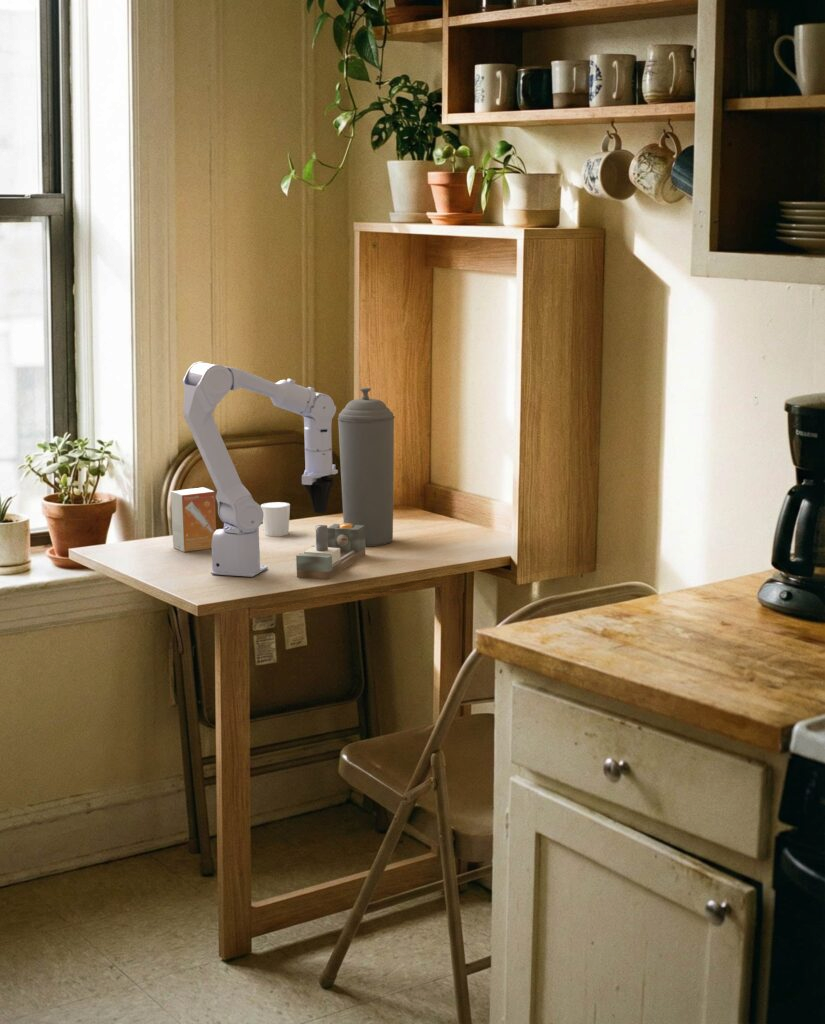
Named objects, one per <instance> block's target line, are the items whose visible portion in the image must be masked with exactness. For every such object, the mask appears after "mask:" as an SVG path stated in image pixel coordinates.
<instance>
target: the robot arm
mask: <svg viewBox="0 0 825 1024" xmlns="http://www.w3.org/2000/svg"><path fill="white" fill-rule="evenodd" d="M182 385H183V389H184V391H183V392H184V393H183V403H182V406H183V407H182V414H183V418H184V420H185V422H186V425H187V427H188V429H189V431H190V434H191V436H192V439H193V440H194V442H195V444H196V447H197V448H198V451H199V453H200V456H201V458H202V461H203V462H204V464H205V467H206V469H207V472H208V474H209V476H210V478H211V480H212V482H213V485H214V487H215V489H216V493H215V501H216V502H217V515H218V517H219V519H220V520H221V522H223V528H218V529H216V531H215V532H214V534H213V537H212V543H211V547H212V548H211V565H212V567H211V568H212V571H211V572H210V574H211V575H221V576H234V577H235V576H236V577H247V578H248V577H249V578H252V577H255V576H256V575H258V574H260V573H261V572H263V571H265V570H267V569H268V565H261V555H260V554H261V552H260V531H259V528H260V526H262V524H263V510H262V508H261V504H259V503H257V502H256V501H255V500H254V498H253V496H252V494H251V492H250V491H249V490H248V488H246V486H245V485H244V484H243V482H242V481H241V480H242V479H241V478H240V476H239V474H238V472H237V469H236V467H235V465H234V462H233V460H232V457H231V456H230V455H231V454H230V453H229V452H228V449H227V447H226V446H227V445H226V444H225V441H224V439H223V438H222V435H221V433H220V430H219V428H218V426H217V424H216V421H215V419H214V417H213V414H214V411H215V409H216V408H217V406H218V404H219V403H221V401H222V400H223V399H224V398H225V396H226V395H227V394H228V393H229V392H230V391H234V392H235V391H237V390H239V389H243V390H247V391H249V392H253V393H254V394H255V393H256V394H258V395H262V396H265V397H268V398H270V401H271V402H272V404H273V406H274V407H277V408H279V409H283V410H286V411H288V412H291V413H294V414H297V415H300V416H301V417H303V425H304V427H303V431H304V432H303V433H304V434H303V435H304V436H303V437H304V462H305V465H304V466H305V469H304V472H303V474H302V475H301V485H304V487H305V489H306V490H307V492H308V494H309V497H310V500H311V504H312V508H313V511H314V513H315V514H325V513H326V512H327V509H328V502H329V498H330V494H331V491H332V488H333V486H334V484H335V482H336V481H335V479H336V478H334V477H329V476H331V475H336V474H337V475H338V473H339V470H338V469H336V468H337V467H336V463H335V464H333V444H332V443H333V440H332V439H333V436H332V434H333V433H332V425H333V424H332V423H333V421H332V420H333V418H334V416H335V414H336V412H337V406H336V405H335V402H334V401H333V399H332V398H331V397H332V396H330V395H328V394H326V393H322V392H317V391H315V388H314V387H311V386H308V387H305V386H303V385H299V384H297V383H296V380H295V379H292V378H287V379H282V380H279V381H277V382H273V381H271V380H268V379H266V378H264V377H261V376H259V375H256V374H254V373H252V372H251V373H250V372H248V371H246V370H243V369H240V368H236V367H231V366H225V365H222V364H212V363H207V362H205V361H196V362H194V363H192V364H191V365H190V366H189V367H188V369H187V371H186V373H185V375H184V377H183V379H182Z"/></svg>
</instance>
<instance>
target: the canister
mask: <svg viewBox="0 0 825 1024" xmlns="http://www.w3.org/2000/svg"><path fill="white" fill-rule="evenodd" d="M359 391H360V392H361V393H362V396H361V398H357V399H353V400H349V402H347V404H345V407H344V408H343V409H342V410H341V411H340V412H339V413H338V416H337V419H336V420H338V422H337V423H338V424H337V425H338V441H339V442H338V443H339V444H338V445H339V461H340V462H339V463H340V478H341V481H340V482H341V499H342V517H343V524H344V523H350V524H353V525H365V547H375V546H382V545H386V544H389V543H391V542H392V540H393V538H394V537H393V536H394V535H393V532H394V473H395V472H394V466H395V465H394V460H395V458H394V457H395V455H394V451H395V450H394V448H395V447H394V442H395V440H394V439H395V437H394V436H395V432H394V428H395V427H394V425H395V424H394V423H395V416H394V412H393V411H391V409H390V408H389V407H387V404H386V403H384V401H382V400H380V399H377V398H370V397H369V394H368V393H369V392H370V391H371V387H360V388H359Z"/></svg>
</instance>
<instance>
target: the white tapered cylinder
mask: <svg viewBox="0 0 825 1024" xmlns="http://www.w3.org/2000/svg"><path fill="white" fill-rule="evenodd" d="M260 506H261V508H262V510H263V521H262V525H263V526H262V527H263V534H264V536H267V537H282V536H286V535H289V530H290V511H291V510H290V509H291V504H290V503H289V502H283V501H273V502H272V501H271V502H264V503H262V504H260Z"/></svg>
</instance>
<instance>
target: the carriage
mask: <svg viewBox="0 0 825 1024" xmlns="http://www.w3.org/2000/svg"><path fill="white" fill-rule="evenodd" d="M327 528H328V525H326V524H319V525H315V546H312V547H310V548H308V549H307V550H306V549H305V551H304V552H303V553H304V554H320V555H332V564H334V563H335V562H337V561H339V560H340V548H330V547H328V532H327Z"/></svg>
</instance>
